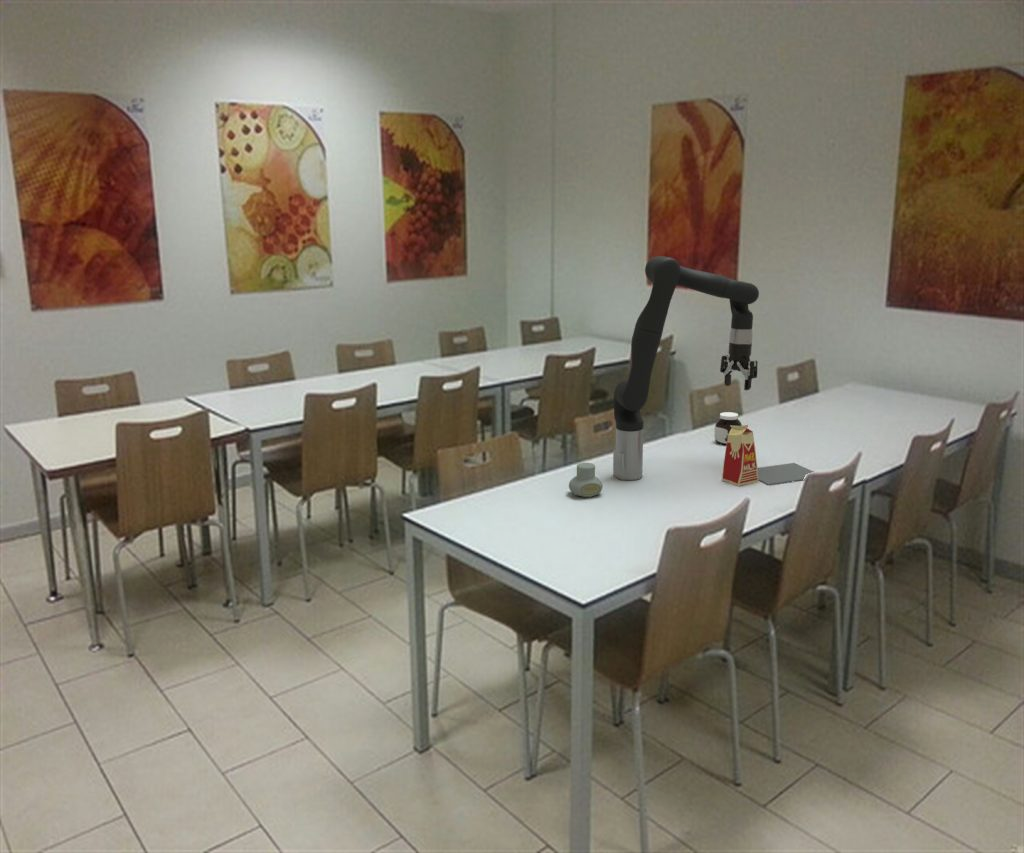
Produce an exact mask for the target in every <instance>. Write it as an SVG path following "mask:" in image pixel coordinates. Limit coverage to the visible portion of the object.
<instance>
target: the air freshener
mask: <svg viewBox="0 0 1024 853" xmlns="http://www.w3.org/2000/svg"><path fill="white" fill-rule="evenodd" d="M603 485H604V484H603V482H602V480H601V479H600V478H599V477H598V476H596V466H595V464H594V463H592V462H580V463H578V464H577V465H576V476H574V477H572V478H571V479H570V481H569V483H568V488H569V490H570V492H571V493H572V494H573V495H575V496H579V497H581V496H583V497H582V498H591V497H590V496H592V497H594V496H596V495H598V494H599V493H600V492H602V490H603Z"/></svg>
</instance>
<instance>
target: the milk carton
mask: <svg viewBox="0 0 1024 853" xmlns="http://www.w3.org/2000/svg"><path fill="white" fill-rule="evenodd" d="M742 425H743V424H742ZM730 426H731V427H732V428H731V430H730V432H729V435H728V440H727V445H726V446H725V453H724V459H723V465H722V466H723V467H722V477H721V481H724V482H726V483H730V484H732V485H734V486H736V487H742V486H747V485H751V484H755V483H758V482H759V483H760V481H759V479H758V468H759V467H758V462H757V461H758V460H757V452H756V446H755V445H756V444H755V436H754V431H753V430H751V429H749V428H748V427H749V424H744V425H743V426H732V425H730Z"/></svg>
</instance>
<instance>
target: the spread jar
mask: <svg viewBox="0 0 1024 853" xmlns="http://www.w3.org/2000/svg"><path fill="white" fill-rule="evenodd" d="M730 425H732V426H743V424H742V422H741V420H739V414H738V413H737V412H731V411H728V412H727V411H724V412H720V413H719V419H718V420H717V421H716V422H715V425H714V440H715V441H716V443H717V444H718V445H720V446H725V447H726V445H727V440H728V435H729V432H730V430H731V428H732V427H731V426H730Z"/></svg>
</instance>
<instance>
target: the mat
mask: <svg viewBox="0 0 1024 853" xmlns="http://www.w3.org/2000/svg"><path fill="white" fill-rule="evenodd" d="M757 468H758V479H759V483H760V482H761V483H763V484H764V483H765V485H766V486H768V485H769V486H772V485H773V486H774V484H775V485H781V484H780V483H782V484H788V483H787V482H789V483H793V482H792V481H796V482H802V481H804V480H803V479H804V477H805V475H806V474H808V473H811V472H815V471H814V470H812V469H809V468H807V467H805V466H802V465H800V464H798V463H796V462H791V463H784V464H777V465H776V464H775V465H770V466H762V467H757Z"/></svg>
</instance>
